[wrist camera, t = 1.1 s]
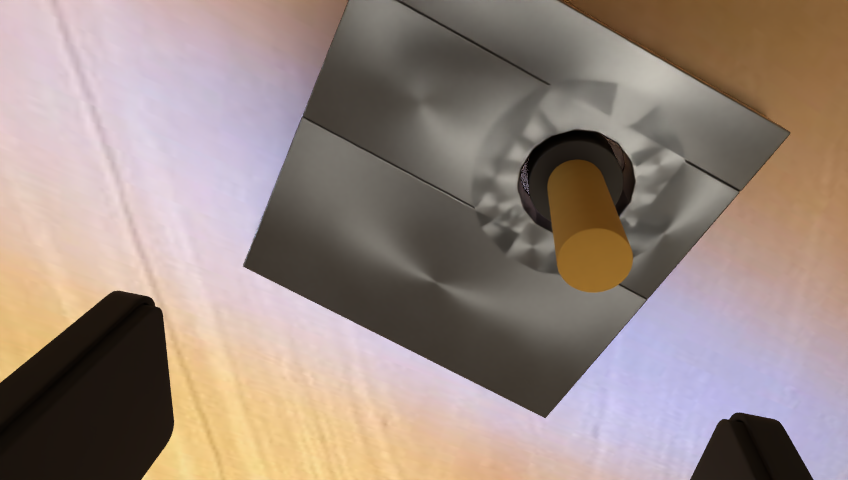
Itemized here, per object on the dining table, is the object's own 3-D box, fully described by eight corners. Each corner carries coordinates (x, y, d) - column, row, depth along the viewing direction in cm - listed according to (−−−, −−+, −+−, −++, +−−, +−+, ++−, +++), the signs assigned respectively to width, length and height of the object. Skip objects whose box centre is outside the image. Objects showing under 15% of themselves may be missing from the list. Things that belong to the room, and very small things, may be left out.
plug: (557, 109, 26) (576, 182, 17) (632, 151, 26) (686, 242, 18) (512, 181, 28) (509, 278, 19) (583, 219, 28) (610, 331, 20)
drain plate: (399, -94, 23) (387, -99, 21) (767, 117, 25) (792, 133, 22) (261, 244, 31) (242, 266, 29) (543, 387, 33) (545, 418, 31)
